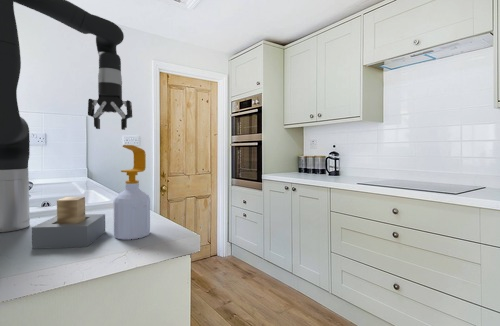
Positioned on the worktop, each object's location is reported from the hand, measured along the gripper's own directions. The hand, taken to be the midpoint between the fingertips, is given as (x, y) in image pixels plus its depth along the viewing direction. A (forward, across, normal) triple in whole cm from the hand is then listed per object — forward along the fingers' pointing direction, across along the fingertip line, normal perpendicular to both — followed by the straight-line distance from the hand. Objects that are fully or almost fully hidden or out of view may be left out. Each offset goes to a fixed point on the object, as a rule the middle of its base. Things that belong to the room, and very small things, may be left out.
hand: (110, 129), depth 100 cm
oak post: (+29, 0, -30) cm, 42 cm away
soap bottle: (+30, +14, -28) cm, 44 cm away
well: (+30, 0, -30) cm, 42 cm away
